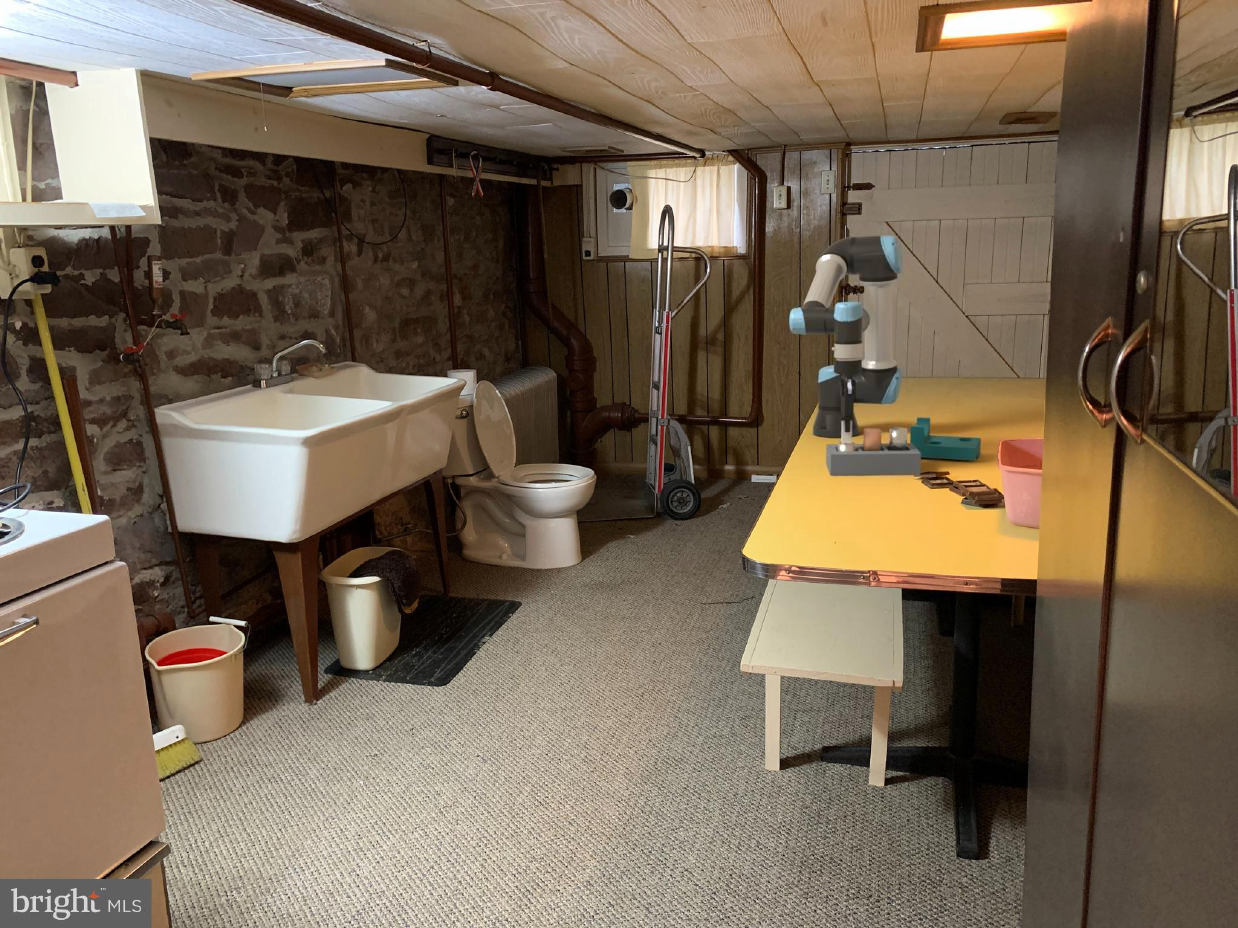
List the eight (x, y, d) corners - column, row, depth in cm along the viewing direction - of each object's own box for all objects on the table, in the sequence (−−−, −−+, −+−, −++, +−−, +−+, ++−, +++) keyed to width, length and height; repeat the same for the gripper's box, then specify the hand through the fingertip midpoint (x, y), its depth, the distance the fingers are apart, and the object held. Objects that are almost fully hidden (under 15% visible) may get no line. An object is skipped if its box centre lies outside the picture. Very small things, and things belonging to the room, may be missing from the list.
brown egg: (862, 449, 267) (862, 428, 266) (879, 449, 266) (880, 427, 265) (864, 453, 262) (864, 431, 261) (882, 452, 262) (882, 430, 260)
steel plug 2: (887, 449, 266) (888, 427, 265) (905, 448, 265) (905, 427, 264) (890, 452, 261) (890, 430, 260) (908, 452, 261) (908, 430, 259)
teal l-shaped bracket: (909, 461, 277) (910, 426, 274) (917, 450, 286) (917, 417, 283) (974, 465, 268) (975, 430, 265) (980, 454, 277) (981, 420, 274)
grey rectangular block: (826, 464, 274) (826, 444, 272) (911, 463, 271) (911, 443, 269) (830, 475, 260) (830, 454, 259) (920, 474, 257) (920, 453, 256)
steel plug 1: (836, 463, 269) (837, 442, 267) (854, 463, 268) (854, 441, 267) (838, 467, 264) (838, 445, 263) (856, 466, 263) (856, 445, 262)
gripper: (831, 356, 266) (830, 438, 271) (836, 361, 254) (835, 447, 259) (859, 356, 265) (857, 438, 270) (864, 361, 253) (863, 447, 258)
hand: (846, 442), depth 265 cm, fingers closed
